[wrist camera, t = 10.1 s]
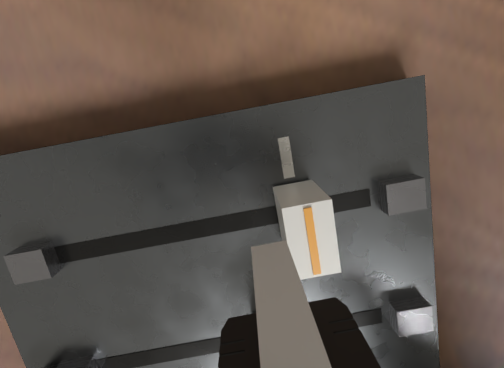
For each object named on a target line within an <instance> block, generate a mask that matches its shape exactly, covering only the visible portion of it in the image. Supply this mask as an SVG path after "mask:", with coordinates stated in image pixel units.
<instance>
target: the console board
mask: <svg viewBox="0 0 504 368" xmlns="http://www.w3.org/2000/svg"><path fill="white" fill-rule="evenodd" d="M307 180H313V181H314V182H315V183H316V184H317V185H318V186H319V187H320V188H321V189H322V190H323V191H324V192H325V193H326V194H327V195H328V196H329V197H330V198H331V199H332V204H333V212H334V219H335V227H336V235H337V242H338V250H339V258H340V266H341V273H335V274H330V275H325V276H319V277H314V278H308V279H303V280H301V283H302V286H303V289H304V292H305V294H306V297H307V300H308V302H311V301H317V300H322V299H328V298H333V297H336V298H337V299H339V300H340V301H341V302H343V303H344V304H345V305H347V307H348V309H349V310H350V312H351V314H352V316H353V318H354V320H355V321H356V323H357V325H358V327H359V330H361V332H362V334H363V336H364V338H365V339H366V341H367V343H368V345H369V347H370V348H371V350H372V352H373V354H374V356H375V358H376V359H377V361H378V363H379V365H380V367H381V368H440V362H439V343H438V324H437V305H436V286H435V266H434V247H433V228H432V209H431V190H430V170H429V151H428V132H427V113H426V94H425V75H422V76H417V77H412V78H407V79H401V80H396V81H391V82H385V83H380V84H375V85H370V86H364V87H359V88H354V89H349V90H343V91H338V92H333V93H328V94H322V95H317V96H312V97H306V98H301V99H296V100H291V101H285V102H280V103H275V104H270V105H264V106H259V107H254V108H249V109H243V110H238V111H233V112H227V113H222V114H217V115H212V116H206V117H201V118H196V119H191V120H185V121H180V122H175V123H170V124H164V125H159V126H154V127H149V128H143V129H138V130H133V131H127V132H122V133H117V134H112V135H106V136H101V137H96V138H91V139H85V140H80V141H75V142H70V143H64V144H59V145H54V146H48V147H43V148H38V149H33V150H27V151H22V152H17V153H12V154H6V155H1V156H0V307H1V309H2V312H3V314H4V316H5V319H6V321H7V323H8V326H9V328H10V331H11V333H12V335H13V338H14V340H15V342H16V345H17V347H18V349H19V352H20V354H21V356H22V359H23V361H24V364H25V366H26V368H218V361H219V350H220V338H221V330H222V328H223V326H224V325H225V323H226V321H227V320H228V318H231V317H237V316H242V315H248V314H253V313H256V304H255V291H254V279H253V266H252V253H251V247H253V246H258V245H263V244H269V243H274V242H280V241H282V238H281V232H280V227H279V221H278V215H277V209H276V204H275V198H274V192H273V187H275V186H280V185H286V184H291V183H296V182H302V181H307Z"/></svg>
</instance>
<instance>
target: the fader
mask: <svg viewBox="0 0 504 368" xmlns="http://www.w3.org/2000/svg"><path fill="white" fill-rule="evenodd" d="M273 192H274V198H275V204H276V209H277V215H278V221H279V227H280V232H281V238H282V241H285V240H286V241H287V244H288V247H289V250H290V252H291V255H292V258H293V261H294V264H295V266H296V269H297V272H298V275H299V278H300V280H303V279H308V278H314V277H319V276H325V275H330V274H335V273H341V266H340V258H339V250H338V242H337V235H336V227H335V219H334V212H333V204H332V199H331V198H330V197H329V196H328V195H327V194H326V193H325V192H324V191H323V190H322V189H321V188H320V187H319V186H318V185H317V184H316V183H315V182H314V181H313V180H307V181H302V182H296V183H291V184H286V185H280V186H275V187H273Z"/></svg>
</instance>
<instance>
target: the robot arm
mask: <svg viewBox="0 0 504 368" xmlns="http://www.w3.org/2000/svg"><path fill="white" fill-rule="evenodd" d="M251 253H252V266H253V279H254V291H255V304H256V313H253V314H248V315H242V316H237V317H231V318H228V320H227V321H226V323H225V325H224V326H223V328H222V330H221V338H220V350H219V361H218V368H381V367H380V365H379V363H378V361H377V359H376V358H375V356H374V354H373V352H372V350H371V348H370V347H369V345H368V343H367V341H366V339H365V338H364V336H363V334H362V332H361V330H359V327H358V325H357V323H356V321H355V320H354V318H353V316H352V314H351V312H350V310H349V309H348V307H347V305H345V304H344V303H343V302H341V301H340V300H339V299H337V298H336V297H333V298H328V299H322V300H317V301H311V302H308V300H307V297H306V294H305V292H304V289H303V286H302V283H301V280H300V278H299V275H298V272H297V269H296V266H295V264H294V261H293V258H292V255H291V252H290V250H289V247H288V244H287V241H286V240H285V241H280V242H274V243H269V244H263V245H258V246H253V247H251Z"/></svg>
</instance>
